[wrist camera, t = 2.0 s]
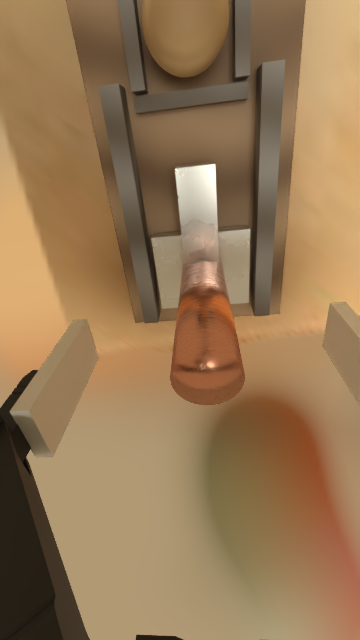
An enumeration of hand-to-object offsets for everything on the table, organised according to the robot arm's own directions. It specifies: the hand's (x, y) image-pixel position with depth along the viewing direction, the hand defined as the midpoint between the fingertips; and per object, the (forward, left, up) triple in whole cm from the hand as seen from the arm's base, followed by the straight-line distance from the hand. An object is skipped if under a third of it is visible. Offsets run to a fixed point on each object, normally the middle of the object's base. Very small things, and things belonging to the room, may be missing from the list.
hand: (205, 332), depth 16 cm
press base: (-7, 0, -10) cm, 13 cm away
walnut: (-14, 0, -9) cm, 17 cm away
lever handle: (-2, 0, -9) cm, 9 cm away
